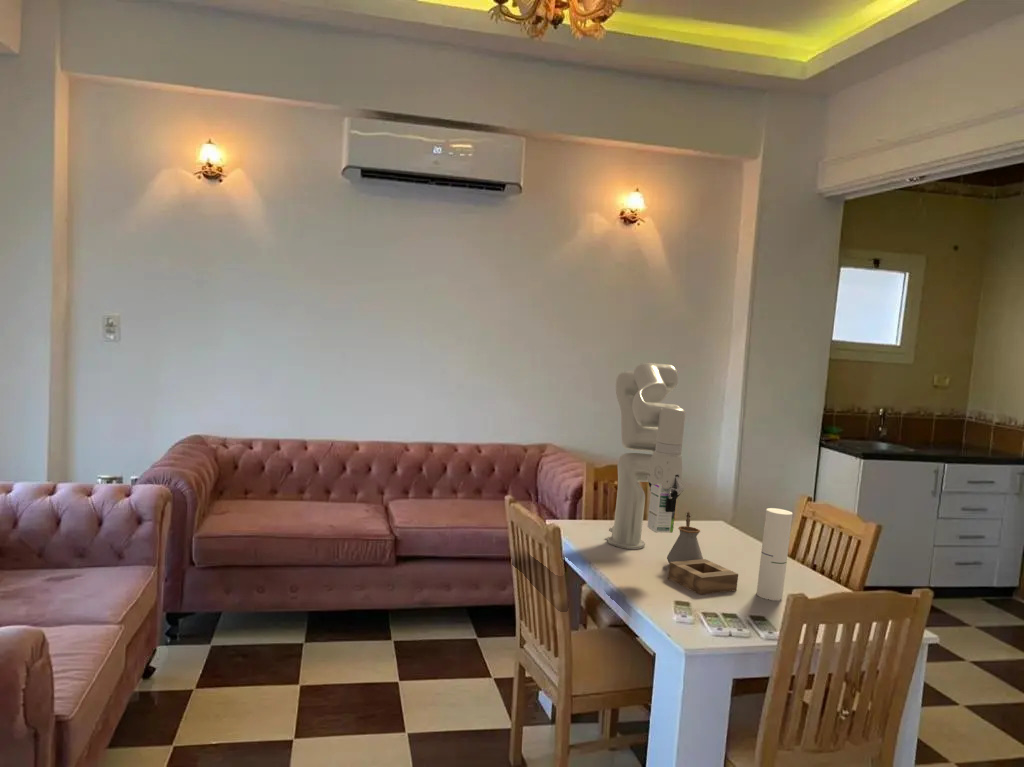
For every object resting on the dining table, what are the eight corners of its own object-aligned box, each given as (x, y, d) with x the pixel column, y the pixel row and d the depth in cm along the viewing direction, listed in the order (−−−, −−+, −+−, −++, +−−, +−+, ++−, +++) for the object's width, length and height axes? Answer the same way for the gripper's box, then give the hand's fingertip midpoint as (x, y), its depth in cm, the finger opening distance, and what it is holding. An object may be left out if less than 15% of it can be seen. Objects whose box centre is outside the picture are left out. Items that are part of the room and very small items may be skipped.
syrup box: (655, 532, 221) (660, 484, 220) (646, 527, 227) (651, 479, 226) (672, 533, 223) (678, 484, 222) (663, 527, 228) (669, 480, 227)
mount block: (667, 578, 227) (669, 562, 227) (703, 574, 234) (705, 559, 233) (699, 594, 215) (701, 577, 214) (736, 590, 221) (738, 574, 221)
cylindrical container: (761, 589, 224) (771, 506, 223) (785, 596, 220) (796, 512, 218) (752, 594, 219) (762, 510, 217) (777, 602, 214) (787, 515, 213)
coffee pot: (703, 577, 231) (709, 529, 230) (665, 571, 234) (670, 523, 233) (701, 557, 252) (706, 513, 251) (666, 552, 254) (671, 508, 253)
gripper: (640, 443, 229) (634, 501, 230) (677, 454, 213) (671, 516, 215) (660, 443, 232) (653, 500, 234) (698, 454, 217) (691, 515, 218)
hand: (662, 507), depth 224 cm, fingers closed on syrup box, 6 cm apart
